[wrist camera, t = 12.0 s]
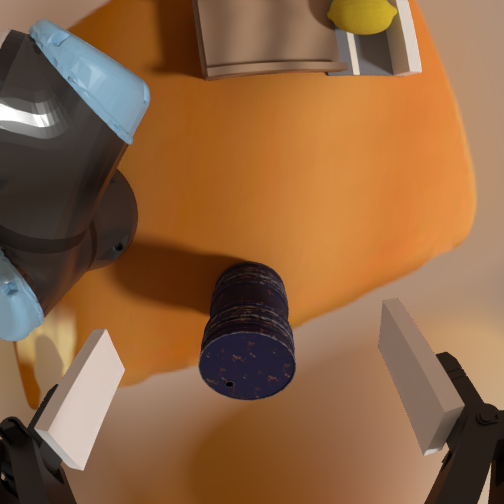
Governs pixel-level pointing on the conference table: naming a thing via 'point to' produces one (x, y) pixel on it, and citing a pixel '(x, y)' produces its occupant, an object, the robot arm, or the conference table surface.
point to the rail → (403, 41)
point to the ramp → (265, 37)
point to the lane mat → (365, 53)
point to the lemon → (362, 15)
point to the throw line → (353, 53)
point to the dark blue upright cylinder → (248, 335)
